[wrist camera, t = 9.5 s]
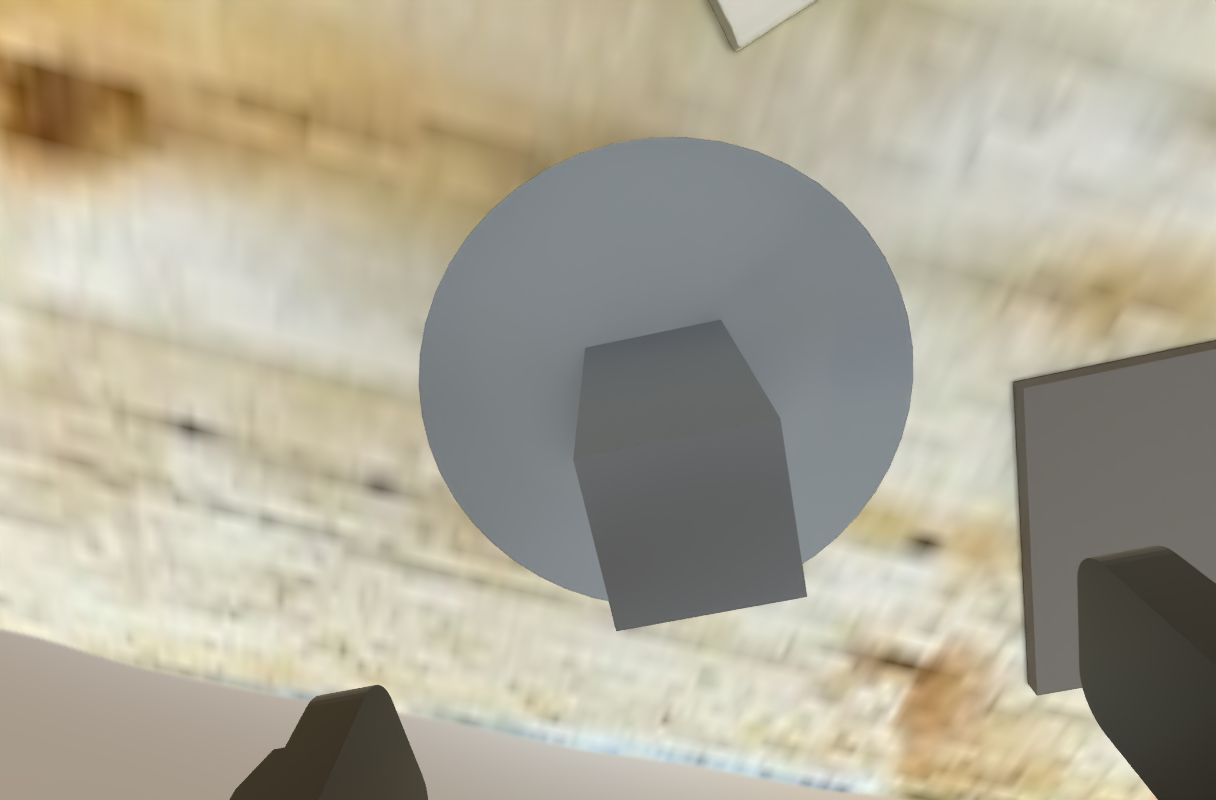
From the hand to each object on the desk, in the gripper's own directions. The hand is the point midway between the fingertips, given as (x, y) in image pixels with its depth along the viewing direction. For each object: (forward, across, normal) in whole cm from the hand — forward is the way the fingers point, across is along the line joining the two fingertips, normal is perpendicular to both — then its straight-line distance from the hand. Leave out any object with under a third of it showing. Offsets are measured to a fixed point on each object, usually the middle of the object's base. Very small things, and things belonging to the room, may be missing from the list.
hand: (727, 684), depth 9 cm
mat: (+16, -17, +10) cm, 25 cm away
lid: (+10, 0, 0) cm, 10 cm away
